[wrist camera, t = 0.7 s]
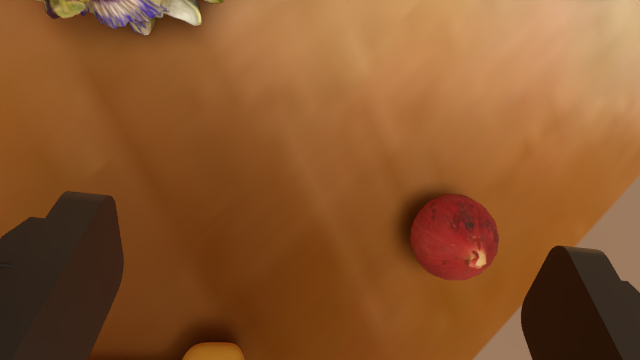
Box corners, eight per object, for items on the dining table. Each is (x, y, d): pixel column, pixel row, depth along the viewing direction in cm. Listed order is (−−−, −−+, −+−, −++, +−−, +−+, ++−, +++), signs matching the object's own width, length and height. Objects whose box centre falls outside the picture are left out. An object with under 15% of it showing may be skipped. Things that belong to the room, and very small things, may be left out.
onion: (400, 184, 38) (440, 214, 31) (473, 184, 39) (531, 213, 32) (394, 258, 40) (432, 305, 32) (466, 257, 40) (519, 302, 33)
